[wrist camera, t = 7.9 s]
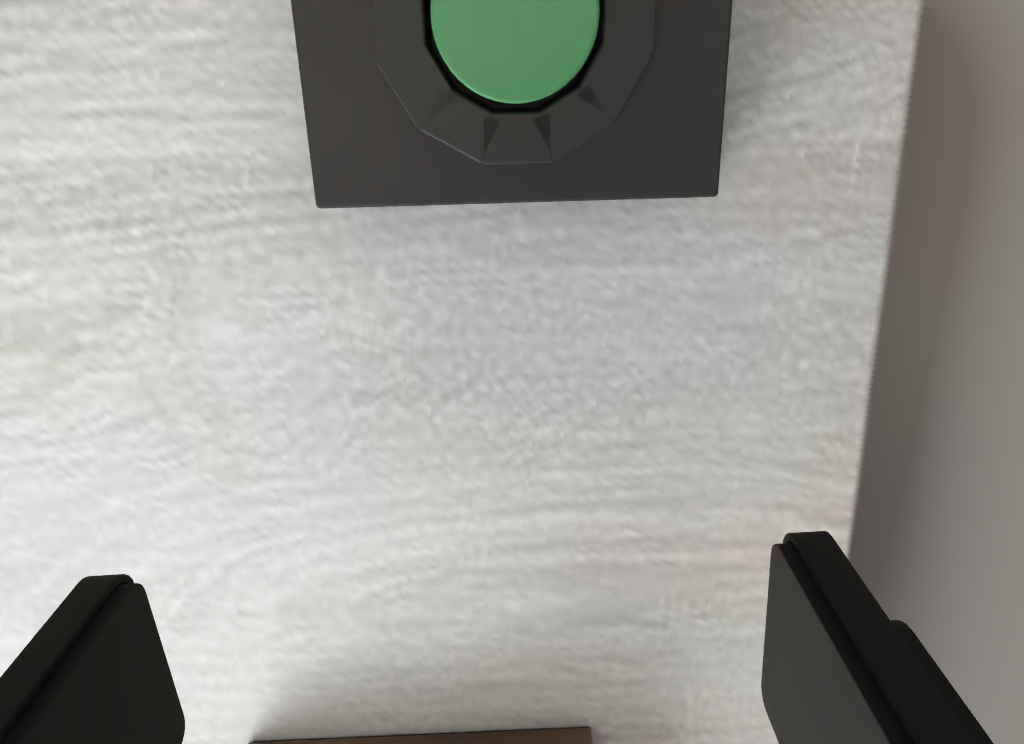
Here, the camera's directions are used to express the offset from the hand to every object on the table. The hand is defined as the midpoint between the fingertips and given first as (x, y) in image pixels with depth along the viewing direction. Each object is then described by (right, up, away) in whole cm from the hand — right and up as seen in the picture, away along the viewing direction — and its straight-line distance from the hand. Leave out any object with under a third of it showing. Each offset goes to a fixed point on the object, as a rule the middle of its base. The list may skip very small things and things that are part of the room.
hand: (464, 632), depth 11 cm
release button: (+1, +12, +6) cm, 14 cm away
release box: (+1, +13, +10) cm, 17 cm away
